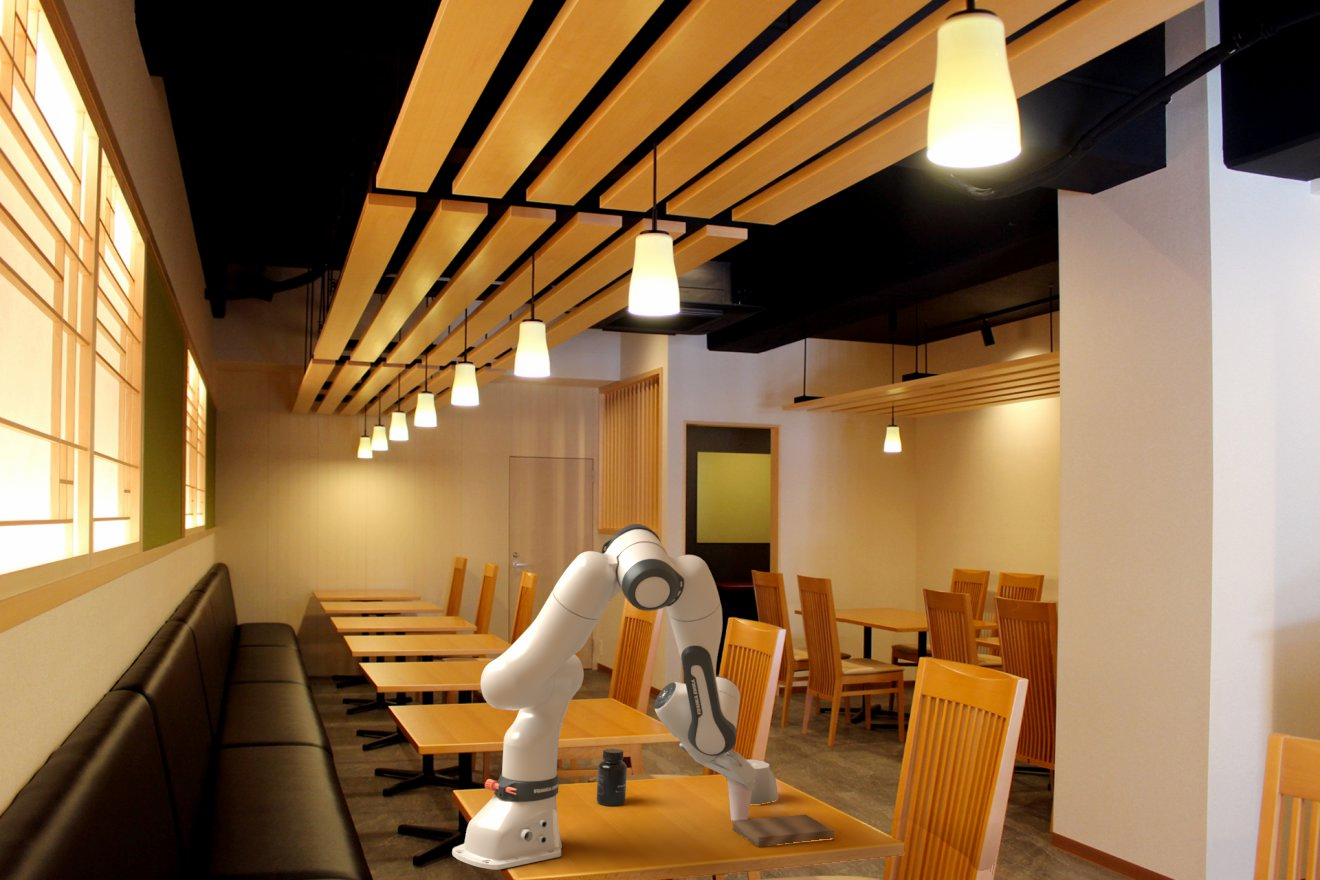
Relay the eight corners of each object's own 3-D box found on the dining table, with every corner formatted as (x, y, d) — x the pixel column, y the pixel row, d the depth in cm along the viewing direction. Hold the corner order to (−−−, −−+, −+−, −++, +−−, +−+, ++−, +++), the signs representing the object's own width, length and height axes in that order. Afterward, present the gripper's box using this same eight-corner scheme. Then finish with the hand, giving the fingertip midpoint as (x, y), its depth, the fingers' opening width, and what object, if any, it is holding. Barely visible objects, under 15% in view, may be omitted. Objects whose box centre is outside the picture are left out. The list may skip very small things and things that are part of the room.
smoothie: (753, 816, 239) (755, 754, 240) (753, 825, 233) (755, 760, 234) (725, 815, 240) (727, 752, 241) (724, 823, 234) (726, 759, 234)
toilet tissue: (786, 799, 255) (787, 763, 256) (749, 808, 246) (750, 770, 247) (759, 790, 262) (760, 755, 263) (721, 799, 253) (722, 762, 254)
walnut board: (758, 847, 218) (758, 837, 218) (732, 830, 229) (733, 820, 229) (833, 839, 224) (834, 830, 224) (805, 823, 235) (805, 814, 235)
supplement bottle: (624, 807, 243) (626, 754, 244) (595, 806, 243) (597, 753, 244) (626, 799, 250) (628, 747, 251) (597, 798, 250) (599, 746, 251)
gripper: (740, 741, 225) (777, 784, 229) (693, 723, 243) (727, 762, 247) (722, 764, 223) (759, 807, 227) (675, 744, 241) (710, 783, 245)
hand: (742, 784), depth 237 cm, fingers closed on smoothie, 6 cm apart
